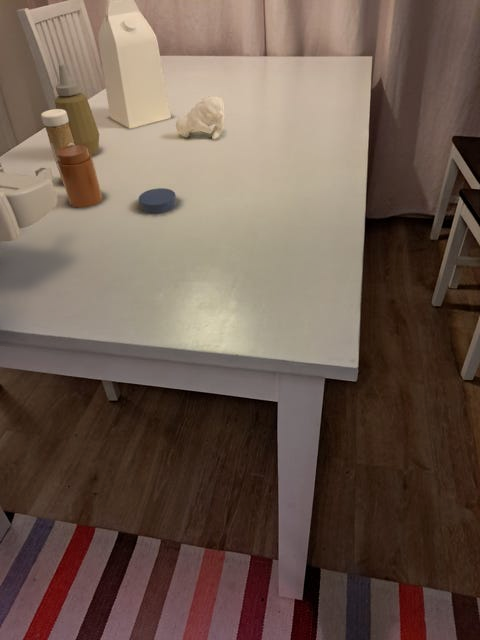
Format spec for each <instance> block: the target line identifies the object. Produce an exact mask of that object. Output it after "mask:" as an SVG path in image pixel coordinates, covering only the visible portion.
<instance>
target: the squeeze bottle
mask: <svg viewBox="0 0 480 640" xmlns="http://www.w3.org/2000/svg"><path fill="white" fill-rule="evenodd" d="M58 74H59V83H58V84H55V90H56V94H57V95H58V96H56V97H55V100H54V105H55V109H63V110H65V111H66V113H67V116H68V120H69V121H68V122H69V127H70V130H71V134H72V137H73V141H74V144H75V145H83V146H86V147H87V149H88V153H89V154H90V155H91V156H92V157H93V156H95V155H97V154H98V152H99V145H100V133H99V129H98V127H97V123H96V120H95V118H94V114H93V112H92V108H91V106H90V103H89V100H88V97H87V95H85V94H84V93H82V92H81V88H80V84H79V83H78V82H76V81H74V80H73V79H72V77H71V75H70V72H69V70H68V69H67V67H66V64H58Z"/></svg>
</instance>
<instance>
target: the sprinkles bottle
mask: <svg viewBox="0 0 480 640" xmlns="http://www.w3.org/2000/svg"><path fill="white" fill-rule="evenodd" d="M40 118H41V121H42V124H43V126H44V128H45V130H46V133H47V138H48V142H49V144H50V149H51V152H52V155H53V157H54V161H55V164H56V167H57V169H58V173H59V176H60V179H61V183H62V185H64V183H63V180H62V176H61V173H60V170H59V167H58V164H57V160H58V157H57V151H58V150H60V149H61V148H64V147H67V146H72V145H75V144H74V141H73V137H72V134H71V130H70V127H69V122H68V121H69V120H68V116H67V113H66V111H65V110H63V109H56V108H53V109H49V110H45V111H43V112H42V113H41V114H40Z"/></svg>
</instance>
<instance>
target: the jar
mask: <svg viewBox="0 0 480 640" xmlns="http://www.w3.org/2000/svg"><path fill="white" fill-rule="evenodd" d="M57 157H58V160H57V164H58V167H59V170H60V173H61V176H62V179H61V181H62V180H63V183H64V184H63V183H62V184H63V186H64V189H65V192H66V196H67V199H68V202H69V205H70V206H71V207H73V208H79V209H83V208H89V207H90V208H91V207H93V206H95V205H97V204H99V203H100V202H102V200H103V195H102V190H101V187H100V183H99V179H98V175H97V171H96V167H95V163H94V160H93V156H91V155H90V154H89V153H88V149H87V147H86V146H83V145H72V146H67V147H64V148H61V149H60V150H58V151H57ZM57 164H56V165H57ZM59 170H58V171H59ZM60 173H59V174H60ZM61 176H60V177H61Z"/></svg>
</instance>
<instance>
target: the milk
mask: <svg viewBox="0 0 480 640" xmlns="http://www.w3.org/2000/svg"><path fill="white" fill-rule="evenodd" d="M135 1H136V0H106V2H105V3H106V4H105V13H104V14H105V15H104V17H103V21H102V23H101V26H100V29H99V32H98V36H97V40H98V41H97V43H98V48H99V55H100V61H101V66H102V72H103V73H102V74H103V80H104V85H105V92H106V97H107V105H108V110H109V116H110V119H112V120H114V121H115V122H117V123H119V124H121V125H123V126H124V127H126V128H128V129H134V128H137V127H141V126H145V125H149V124H152V123H156V122H160V121H164V120H167V119H172V115H171V109H170V103H169V97H168V91H167V86H166V80H165V75H164V69H163V64H162V59H161V58H162V57H161V53H160V47H159V41H158V38H157V35H156V33H155V31H154V30H153V28H152V27H151V25H150V23H149V22H148V21H147V19H146V18H145V15H143V13H142V12H141V11H140V8H139V7H138V5H137V3H136V2H135Z"/></svg>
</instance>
